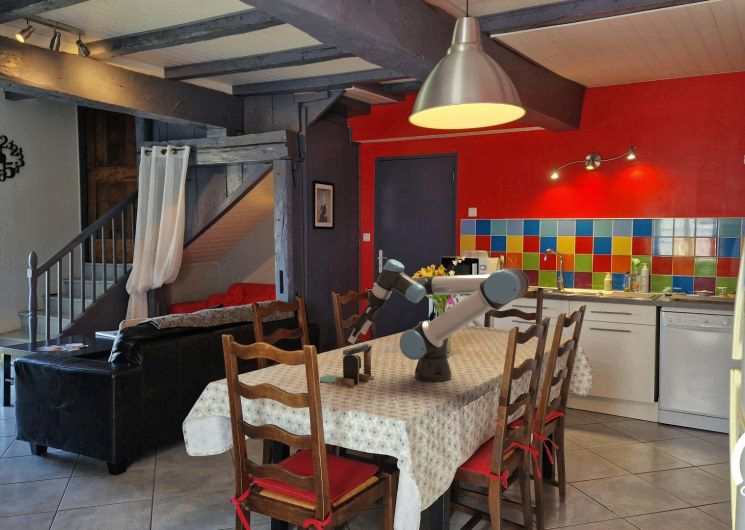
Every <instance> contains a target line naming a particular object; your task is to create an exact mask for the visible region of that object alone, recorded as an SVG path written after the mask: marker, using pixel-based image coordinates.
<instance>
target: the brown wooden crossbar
mask: <svg viewBox="0 0 745 530" xmlns="http://www.w3.org/2000/svg"><path fill="white" fill-rule="evenodd" d="M372 348H373V347H372V344H370V343H365V344H362V345H358V346H355V347H351V348H347V349H343V350H342V355H343V356H345V355H347V356H349V355H357V354H359V353H364V351H367V350H371V351H372V350H373V349H372Z"/></svg>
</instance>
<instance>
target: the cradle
mask: <svg viewBox="0 0 745 530" xmlns="http://www.w3.org/2000/svg"><path fill="white" fill-rule="evenodd" d="M341 377H342V376H339V377H336V383H335V386H338V385H340V386H339V387H344V386H346V387H345V388H350V387H351V388H350V389H354V388H355V385H354V379H347V378H341ZM374 378H375V377H374V375H372V350H367V351H363V373H362V372H361V373H360V372H359V379H360V381H361V382H360V383H366V384H367V383H370V381H371V380H374Z"/></svg>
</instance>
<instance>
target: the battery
mask: <svg viewBox="0 0 745 530" xmlns="http://www.w3.org/2000/svg"><path fill="white" fill-rule="evenodd" d="M360 369H362V358H361V356H360V355H357V354H352V355H349V356H347V355H343V357H342V372H343V373H342V375H343V376H342V377H343V378H347V379H354V386H358V385H359V384H361V382H360V379H359V373H360Z"/></svg>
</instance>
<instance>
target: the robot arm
mask: <svg viewBox="0 0 745 530" xmlns="http://www.w3.org/2000/svg"><path fill="white" fill-rule="evenodd" d="M404 271H405V265H403V263H401V262H400V261H398V260H396V259H393V258H392V259H388V260H387V261H386V263H385V264H384V266H383V267H382V270H381V272H380V274H379V275H378V277H377V279H376V281H375V282H374V283H373V287H372V289H371V291H370V293H369V294H368V296H367V302H369V304H368V305H367V306H366V307H365V309H364V310H363V313H362V314H361V315H360V317H359V318H358V320H357V321H356V323H355V324H354V325H352V327H353V330H352V332H351V333H350V336H349V337H348V340H347V341H348V342H349V343H350V344H352V345H354V344H355V343H356V340H357V338H358V337H359V335H360V333H361V334H362V335H364V336H365V335H366V334H367V332H368V330H369V328H370V326H371V325H372V323H374V322H375V319H376V316H377V314H378V312H379V309H380V308H384V307H385V305H386V303H387V301H388V299H389V298H390V296H391V294H392V292H393V291H394V290H395V291H396V292H397V293H399V294H400V295H402V296H403V297H404V298H406V299H407V301H410V302H412V303H414V304H418V303H419V302H420V301H421V300H422V299H423V298H424V297H425V296H440V295H441V296H442V295H443V296H444V295H468V296H466V297H465V298H464V299H461V301H459V302H458V303H456V304H455V305H453V306H451V307H450V308H449V309H447V310H446V311H444V312H443V313H441V314H440V315H438V316H436V317H434V319H432V320H431V321H430V320H424V321H419V322H418V324H417V325H416V326H415V327H413V328H411V329H407V330H405V331H404V332H403V333H402V334H401V336H400V337H399V349H400V351H401V353H402V354H403V355H404V357H406V358H407V359H410V360H411V361H416V360H417V363H416V367H415V370H414V379H416V380H418V381H421V382H422V381H423V382H435V383H436V382H437V383H438V382H445V381H450V380H451V379H452V375H453V374H452V371H451V367H450V364H449V361H448V338H449V337H450V336H452V335H453V334H455V333H457V332H458V331H460V330H461V329H463V328H464V327H466V326H467V325H469V324H471V323H472V322H474V321H475V320H477V319H479V318H480V317H482V316H483V315H485V314H486V313H488V312H490V311H491V310H493V311H499V310H500V309H502V308H503V307H505V306H506V305H508V304H510V303H512V302H514V301H516V300H519V299H521V298H523V297H524V296H526V295H527V293H528V291H529V290H530V289H529V288H530V279H529V277H528V275H527V274H526V273H525V272H524V271H523V270H521V269H520V268H507V269H505V268H503V269H498V270H495V271H492V273H486V274H485V273H484V274H463V275H462V274H460V275H439V276H438V275H437V276H429V275H426V276H419V277H413V278H412V277H411V276H409V275H407V274H406V273H405V272H404Z"/></svg>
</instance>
